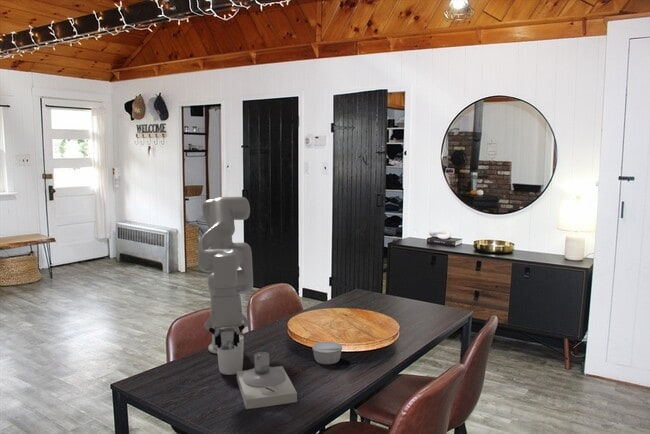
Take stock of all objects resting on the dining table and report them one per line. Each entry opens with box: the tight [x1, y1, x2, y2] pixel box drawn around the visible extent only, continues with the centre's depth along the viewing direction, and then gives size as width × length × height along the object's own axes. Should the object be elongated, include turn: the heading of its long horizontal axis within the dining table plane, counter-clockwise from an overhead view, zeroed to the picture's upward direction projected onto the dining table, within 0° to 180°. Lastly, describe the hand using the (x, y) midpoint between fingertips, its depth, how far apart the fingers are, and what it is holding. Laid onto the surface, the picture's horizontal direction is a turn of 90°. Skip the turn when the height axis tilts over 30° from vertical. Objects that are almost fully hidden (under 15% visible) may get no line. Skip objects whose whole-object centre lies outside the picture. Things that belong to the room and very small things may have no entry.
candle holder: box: [217, 333, 245, 376], centre depth 188 cm, size 10×10×12 cm
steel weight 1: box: [219, 327, 235, 350], centre depth 170 cm, size 5×5×6 cm
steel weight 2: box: [253, 351, 270, 375], centre depth 178 cm, size 5×5×6 cm
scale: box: [236, 365, 298, 410], centre depth 172 cm, size 22×16×4 cm
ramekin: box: [312, 341, 343, 365], centre depth 198 cm, size 11×11×5 cm
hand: (227, 345), depth 171 cm, fingers closed on steel weight 1, 5 cm apart
